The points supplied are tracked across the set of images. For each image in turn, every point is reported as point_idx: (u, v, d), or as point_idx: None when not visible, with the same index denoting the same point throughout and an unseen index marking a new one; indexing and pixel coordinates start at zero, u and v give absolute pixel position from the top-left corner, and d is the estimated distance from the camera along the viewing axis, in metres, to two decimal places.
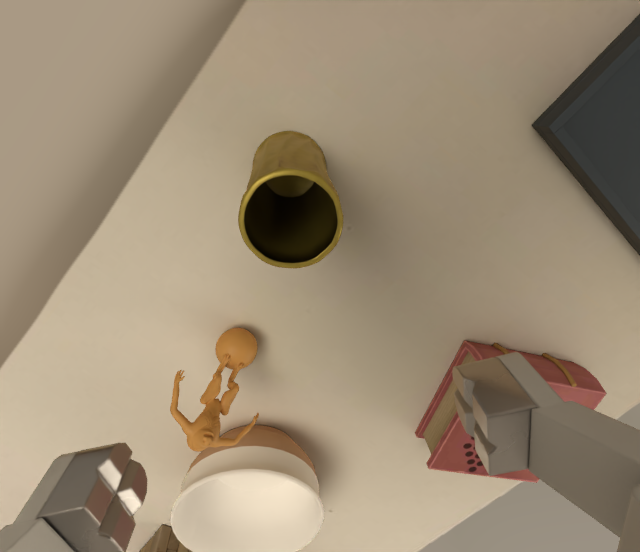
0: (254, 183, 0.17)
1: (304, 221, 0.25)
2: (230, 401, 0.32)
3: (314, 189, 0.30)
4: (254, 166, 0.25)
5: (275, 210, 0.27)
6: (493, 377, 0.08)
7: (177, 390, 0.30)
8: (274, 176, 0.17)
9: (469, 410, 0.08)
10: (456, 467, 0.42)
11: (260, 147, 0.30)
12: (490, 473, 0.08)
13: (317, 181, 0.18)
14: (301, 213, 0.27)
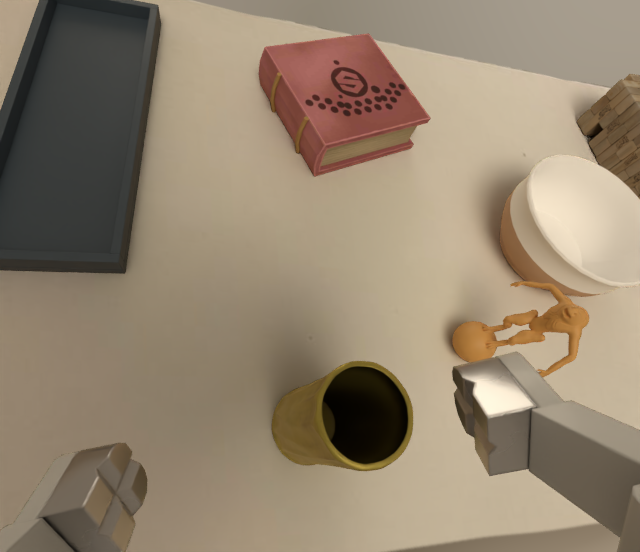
0: (364, 469, 0.18)
1: (343, 387, 0.25)
2: (522, 315, 0.32)
3: None
4: None
5: (352, 413, 0.27)
6: (493, 377, 0.08)
7: (553, 366, 0.29)
8: (346, 458, 0.17)
9: (469, 410, 0.08)
10: (411, 99, 0.43)
11: (312, 463, 0.30)
12: (490, 473, 0.08)
13: (321, 421, 0.18)
14: (337, 391, 0.27)
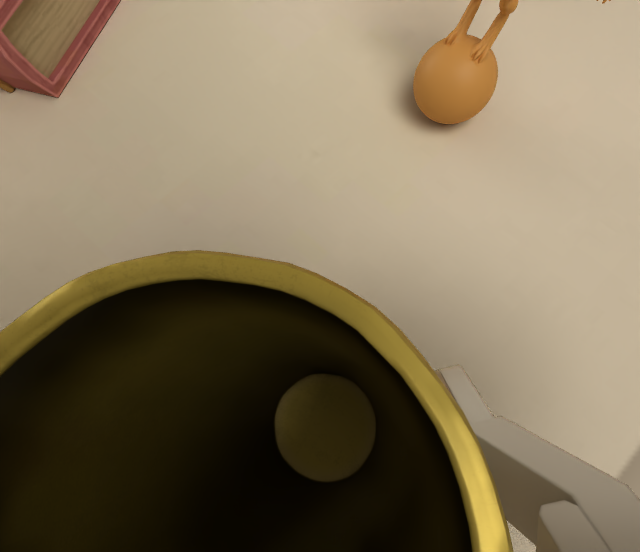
0: None
1: (270, 358, 0.10)
2: None
3: (273, 394, 0.15)
4: None
5: (350, 374, 0.12)
6: None
7: None
8: None
9: None
10: None
11: None
12: None
13: None
14: (289, 364, 0.12)
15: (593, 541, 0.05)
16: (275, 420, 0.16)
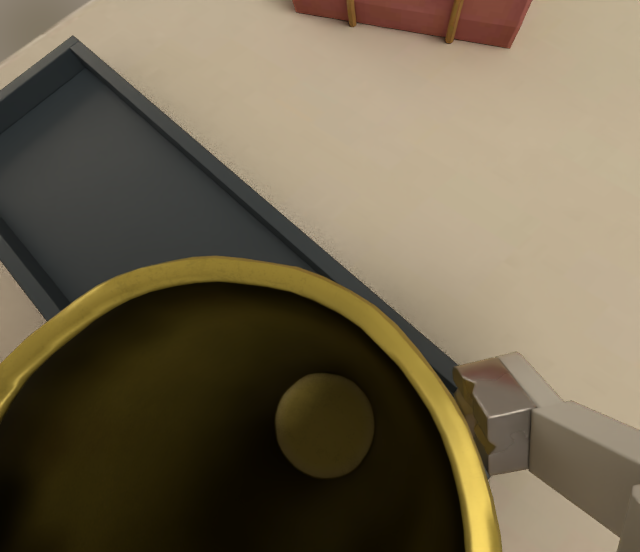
0: None
1: (273, 357, 0.10)
2: None
3: (274, 392, 0.15)
4: None
5: (349, 372, 0.12)
6: (493, 377, 0.08)
7: None
8: None
9: (469, 410, 0.08)
10: None
11: None
12: (490, 473, 0.08)
13: None
14: (291, 363, 0.12)
15: None
16: (276, 419, 0.16)
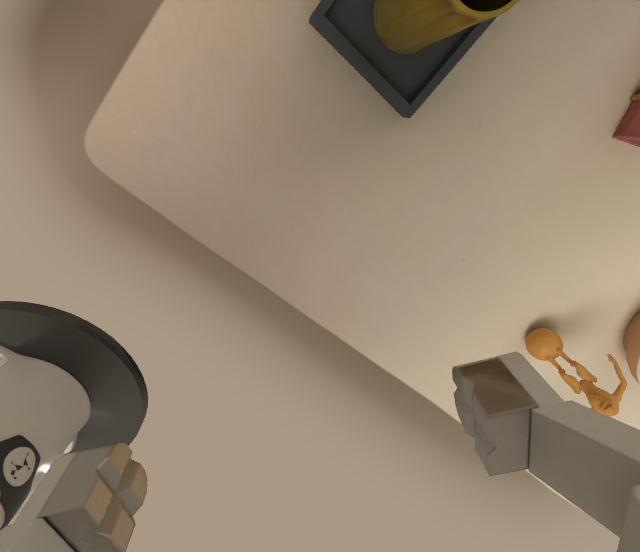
0: None
1: None
2: (586, 373, 0.41)
3: None
4: (412, 34, 0.26)
5: None
6: (493, 377, 0.08)
7: None
8: None
9: (469, 410, 0.08)
10: None
11: (386, 43, 0.31)
12: (490, 473, 0.08)
13: None
14: None
15: None
16: None
